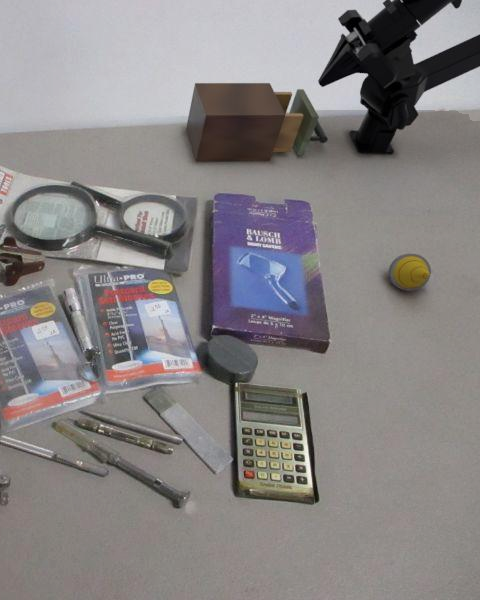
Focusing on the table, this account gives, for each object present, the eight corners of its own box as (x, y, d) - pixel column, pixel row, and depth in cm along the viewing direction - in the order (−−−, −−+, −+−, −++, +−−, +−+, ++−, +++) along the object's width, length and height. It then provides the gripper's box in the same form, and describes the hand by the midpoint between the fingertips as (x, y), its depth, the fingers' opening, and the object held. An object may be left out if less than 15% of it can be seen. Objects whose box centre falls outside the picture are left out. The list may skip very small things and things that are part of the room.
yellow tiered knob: (425, 280, 89) (457, 285, 79) (390, 294, 90) (416, 300, 80) (412, 247, 88) (441, 248, 79) (376, 261, 89) (401, 264, 80)
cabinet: (256, 128, 112) (269, 82, 104) (269, 161, 105) (285, 114, 98) (185, 129, 111) (194, 82, 104) (195, 162, 104) (205, 115, 97)
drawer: (311, 126, 111) (326, 89, 105) (326, 154, 106) (342, 116, 100) (225, 126, 110) (235, 89, 104) (235, 155, 105) (246, 117, 99)
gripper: (457, 72, 87) (360, 142, 96) (420, 25, 100) (337, 90, 109) (415, 19, 83) (318, 97, 92) (382, -23, 96) (300, 49, 105)
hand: (320, 84), depth 100 cm, fingers closed
